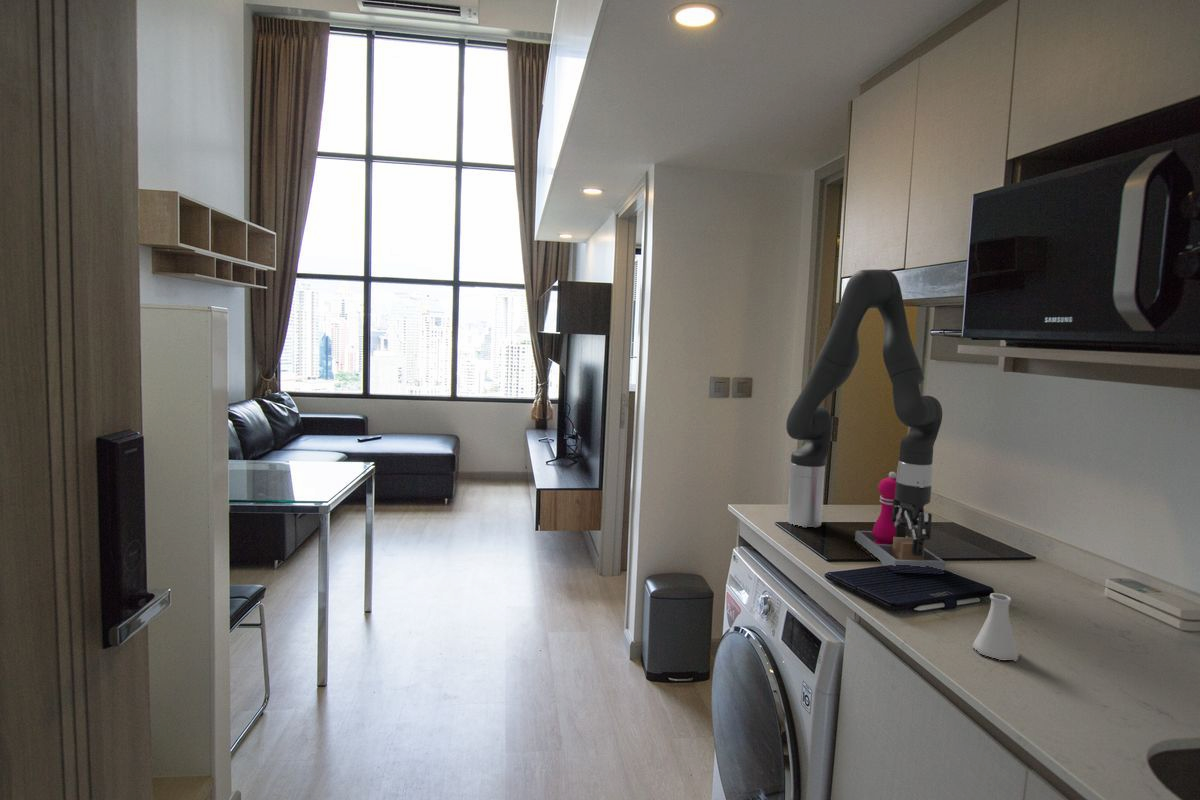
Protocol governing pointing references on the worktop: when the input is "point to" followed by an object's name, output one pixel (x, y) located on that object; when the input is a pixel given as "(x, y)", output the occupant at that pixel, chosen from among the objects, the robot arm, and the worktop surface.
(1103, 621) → the worktop surface
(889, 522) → the pepper mill
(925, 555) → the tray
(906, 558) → the wooden block
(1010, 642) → the flask
